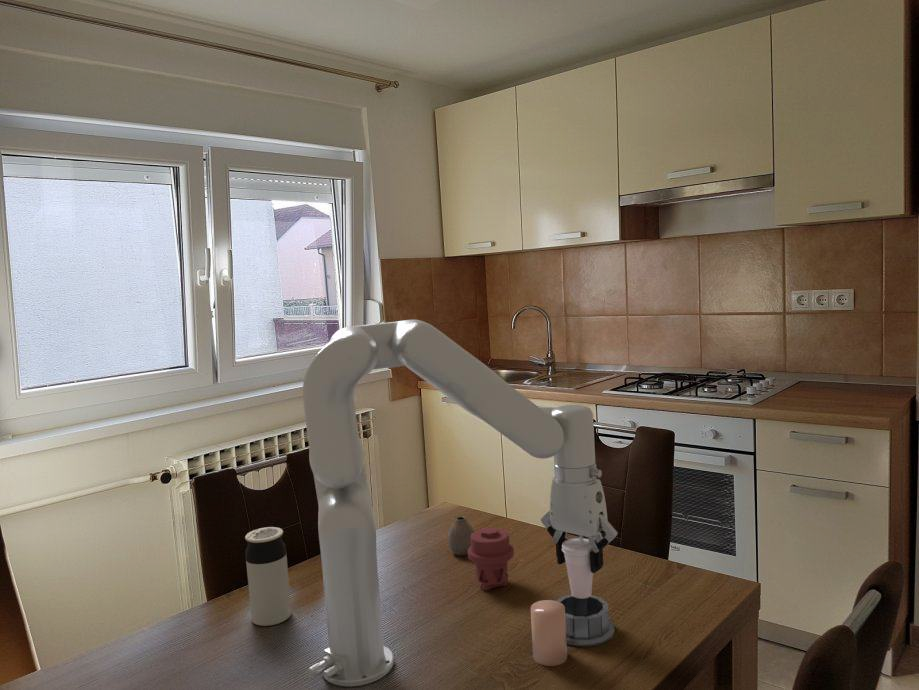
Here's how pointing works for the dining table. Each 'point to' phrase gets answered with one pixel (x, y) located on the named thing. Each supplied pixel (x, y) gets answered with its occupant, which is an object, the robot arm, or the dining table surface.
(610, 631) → the ring socket
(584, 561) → the smoothie
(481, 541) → the mechanical component
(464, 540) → the vase
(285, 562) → the travel mug
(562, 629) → the peach rounded cylinder
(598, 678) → the dining table surface
